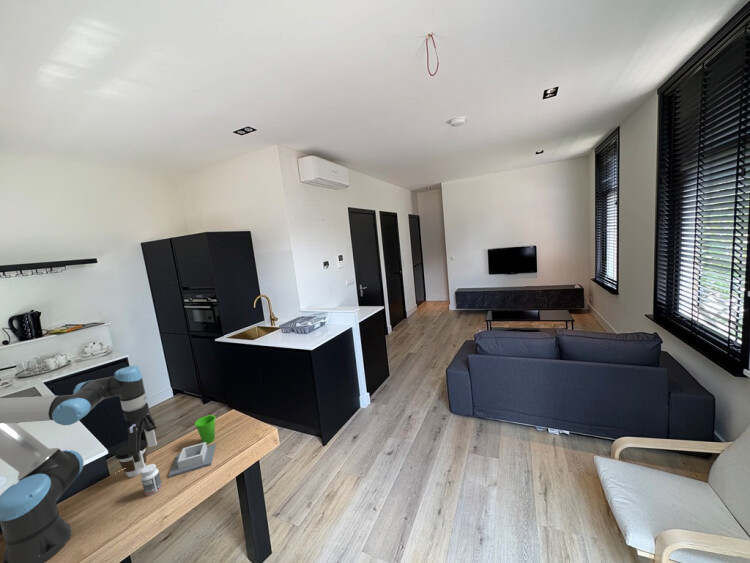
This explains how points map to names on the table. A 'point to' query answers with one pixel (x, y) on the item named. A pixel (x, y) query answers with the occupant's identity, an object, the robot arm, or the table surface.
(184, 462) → the socket
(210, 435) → the cup
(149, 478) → the pill bottle
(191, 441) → the table surface
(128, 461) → the coffee cup
